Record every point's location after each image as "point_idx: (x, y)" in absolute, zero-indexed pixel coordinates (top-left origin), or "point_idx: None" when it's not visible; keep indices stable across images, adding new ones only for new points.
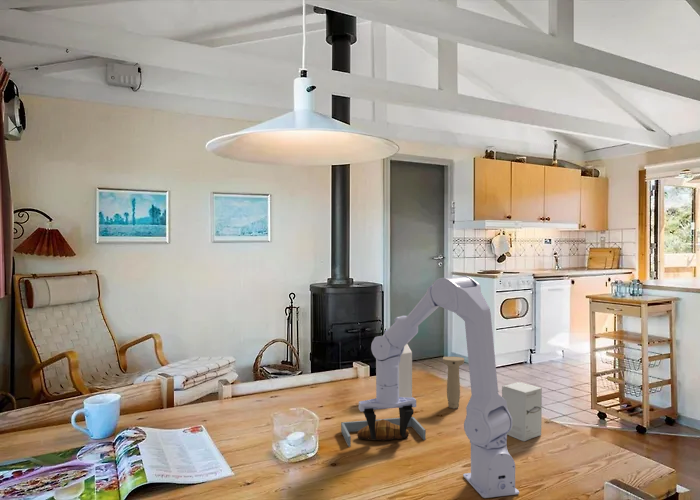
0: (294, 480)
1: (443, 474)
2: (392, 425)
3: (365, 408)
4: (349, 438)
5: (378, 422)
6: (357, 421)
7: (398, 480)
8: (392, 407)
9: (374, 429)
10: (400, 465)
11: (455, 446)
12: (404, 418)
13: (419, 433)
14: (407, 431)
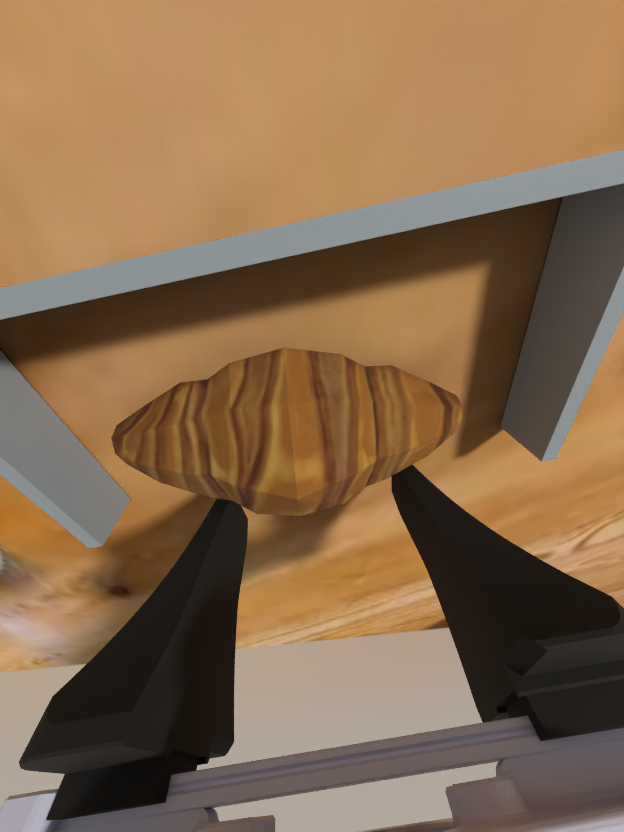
0: (50, 642)
1: (431, 595)
2: (364, 477)
3: (97, 822)
4: (102, 536)
5: (257, 495)
6: (11, 299)
7: (316, 617)
8: (402, 749)
9: (236, 588)
10: (334, 579)
11: (586, 476)
12: (451, 630)
13: (523, 379)
14: (448, 437)
